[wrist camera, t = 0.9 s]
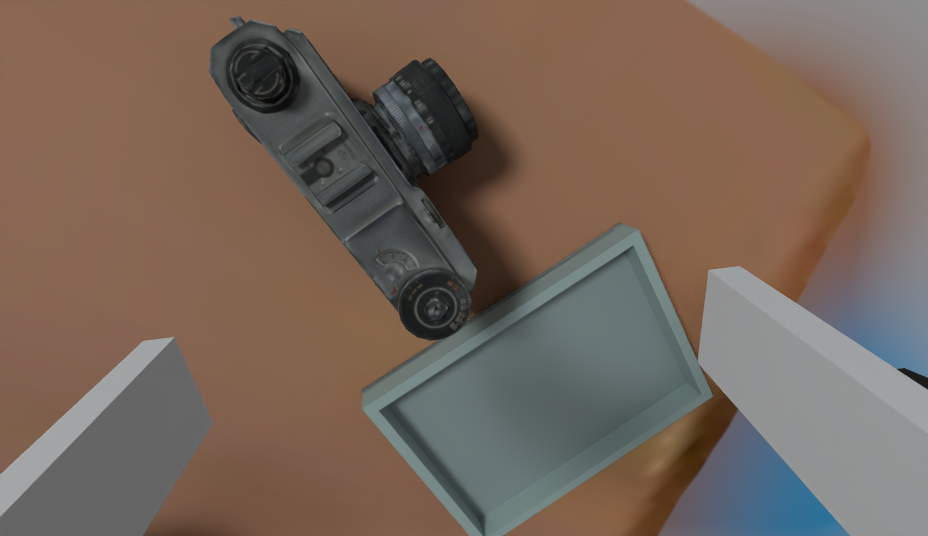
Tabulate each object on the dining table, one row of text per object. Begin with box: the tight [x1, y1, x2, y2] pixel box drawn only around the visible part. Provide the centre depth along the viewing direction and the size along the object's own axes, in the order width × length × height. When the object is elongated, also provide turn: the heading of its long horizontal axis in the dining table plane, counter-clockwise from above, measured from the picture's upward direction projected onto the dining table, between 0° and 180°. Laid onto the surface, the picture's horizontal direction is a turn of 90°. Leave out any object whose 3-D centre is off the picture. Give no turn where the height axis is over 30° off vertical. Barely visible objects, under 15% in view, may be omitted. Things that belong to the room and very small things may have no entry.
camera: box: [209, 16, 479, 341], centre depth 24 cm, size 18×9×10 cm, turn 34°
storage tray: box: [362, 223, 713, 536], centre depth 35 cm, size 23×17×2 cm
